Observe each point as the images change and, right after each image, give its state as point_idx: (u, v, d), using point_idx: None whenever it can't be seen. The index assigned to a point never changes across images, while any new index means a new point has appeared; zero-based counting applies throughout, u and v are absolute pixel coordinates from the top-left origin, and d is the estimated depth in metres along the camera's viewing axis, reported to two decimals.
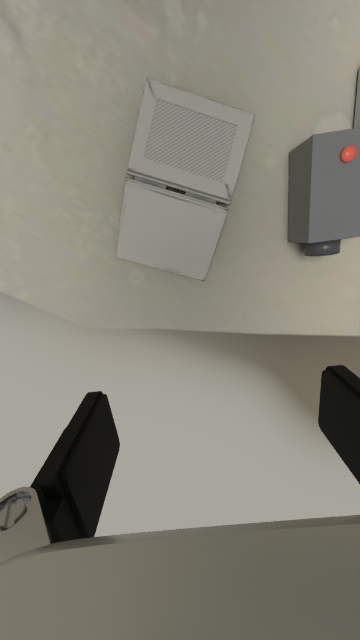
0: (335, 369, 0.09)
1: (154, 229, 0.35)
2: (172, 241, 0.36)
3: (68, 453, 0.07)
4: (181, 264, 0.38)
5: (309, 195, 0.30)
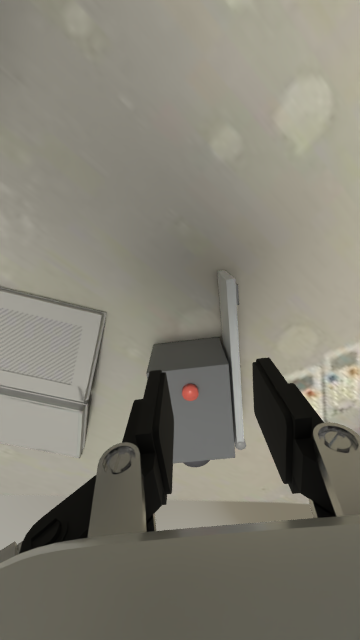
0: (261, 361, 0.10)
1: (8, 421, 0.31)
2: (32, 430, 0.32)
3: (154, 416, 0.08)
4: (50, 446, 0.34)
5: None
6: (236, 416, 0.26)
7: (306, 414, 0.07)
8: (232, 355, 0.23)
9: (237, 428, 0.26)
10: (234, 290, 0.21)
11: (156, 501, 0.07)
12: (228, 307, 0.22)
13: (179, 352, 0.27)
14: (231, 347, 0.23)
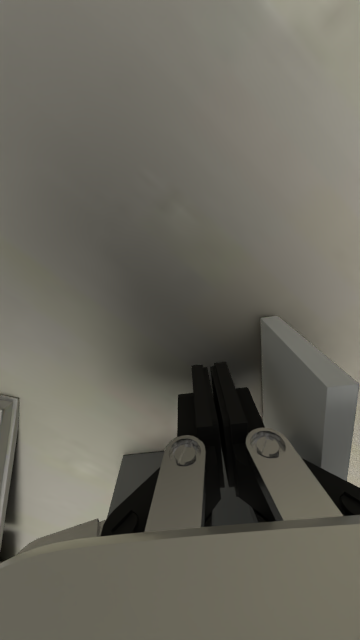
0: (217, 365, 0.11)
1: None
2: None
3: (210, 409, 0.08)
4: None
5: None
6: None
7: (243, 419, 0.07)
8: None
9: None
10: (350, 417, 0.06)
11: (217, 494, 0.07)
12: (321, 458, 0.07)
13: None
14: None
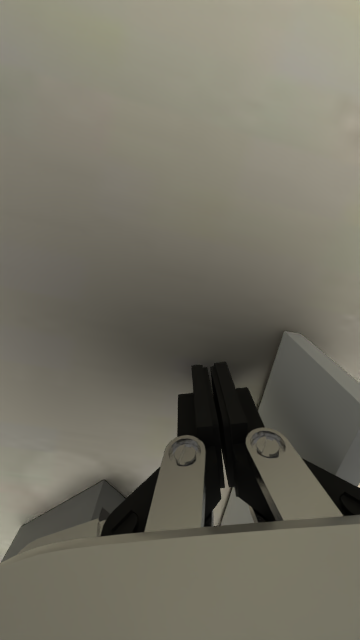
0: (216, 365, 0.11)
1: None
2: None
3: (210, 409, 0.08)
4: None
5: None
6: None
7: (243, 419, 0.07)
8: None
9: None
10: None
11: (217, 494, 0.07)
12: None
13: None
14: None
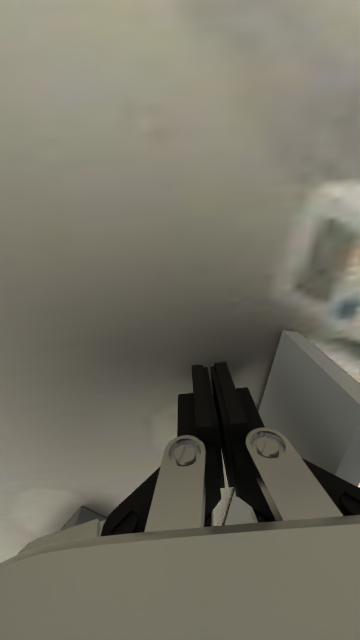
0: (216, 365, 0.11)
1: None
2: None
3: (210, 409, 0.08)
4: None
5: None
6: None
7: (243, 419, 0.07)
8: None
9: None
10: None
11: (217, 494, 0.07)
12: None
13: None
14: None
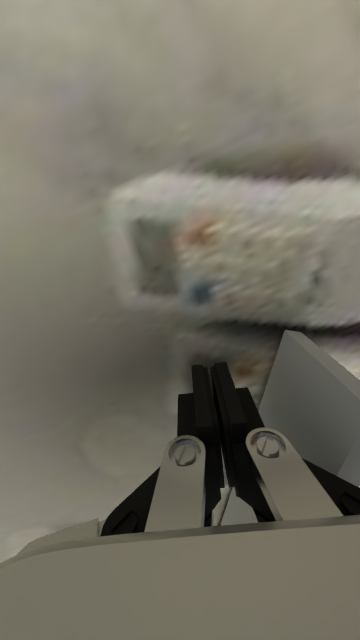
0: (217, 365, 0.11)
1: None
2: None
3: (210, 410, 0.08)
4: None
5: None
6: None
7: (243, 419, 0.07)
8: None
9: None
10: None
11: (217, 494, 0.07)
12: None
13: None
14: None
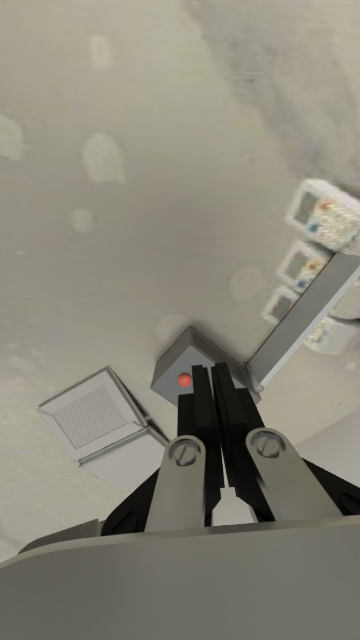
0: (217, 365, 0.11)
1: (121, 469, 0.42)
2: (138, 465, 0.42)
3: (210, 409, 0.08)
4: None
5: None
6: (278, 363, 0.30)
7: (243, 419, 0.07)
8: (318, 315, 0.28)
9: (269, 373, 0.30)
10: None
11: (217, 494, 0.07)
12: (349, 278, 0.26)
13: (168, 357, 0.33)
14: (323, 308, 0.27)
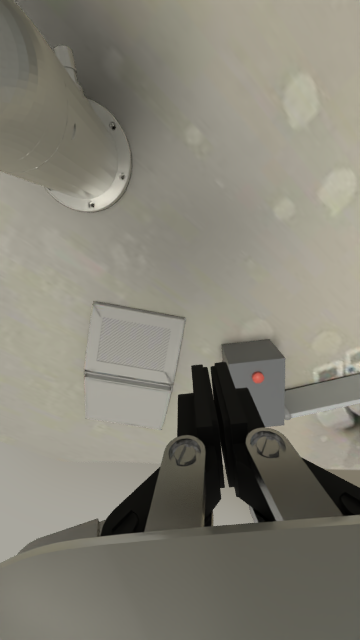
0: (217, 365, 0.11)
1: (113, 402, 0.42)
2: (129, 408, 0.43)
3: (210, 410, 0.08)
4: (140, 421, 0.45)
5: None
6: (314, 409, 0.38)
7: (243, 419, 0.07)
8: None
9: (303, 412, 0.38)
10: None
11: (217, 494, 0.07)
12: None
13: (245, 350, 0.38)
14: None
